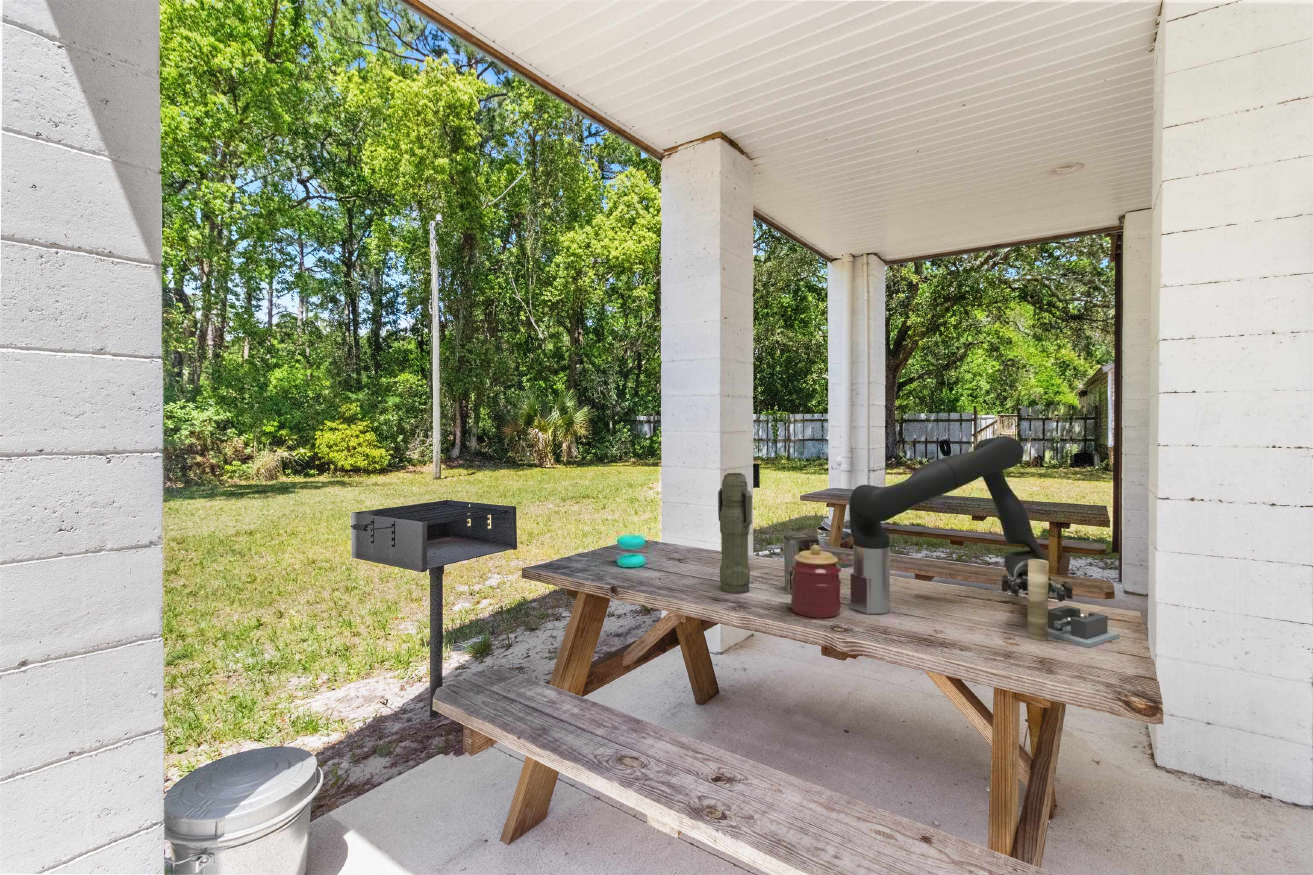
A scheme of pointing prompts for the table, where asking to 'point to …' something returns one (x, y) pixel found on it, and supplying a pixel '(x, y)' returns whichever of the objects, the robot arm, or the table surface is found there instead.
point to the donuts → (631, 558)
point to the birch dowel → (1037, 599)
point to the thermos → (734, 533)
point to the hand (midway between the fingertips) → (1038, 594)
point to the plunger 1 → (1063, 622)
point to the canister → (816, 584)
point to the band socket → (1080, 627)
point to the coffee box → (795, 553)
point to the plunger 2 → (1083, 615)
